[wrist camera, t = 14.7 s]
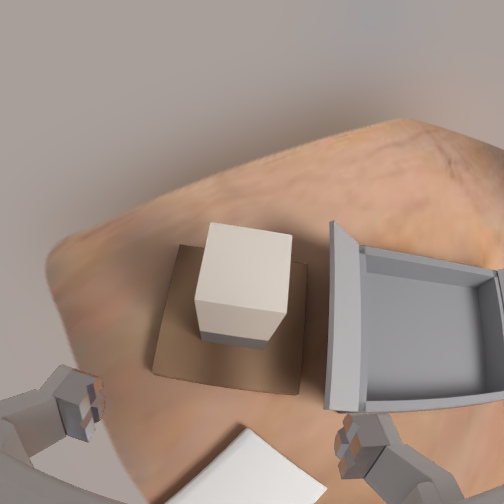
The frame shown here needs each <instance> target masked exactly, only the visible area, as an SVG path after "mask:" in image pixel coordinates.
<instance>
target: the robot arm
mask: <svg viewBox="0 0 504 504" xmlns="http://www.w3.org/2000/svg"><path fill="white" fill-rule="evenodd" d="M102 387H103V383H102V379H101V378H100V377H98V376H95V375H92V374H89V373H86V372H83V371H80V370H77V369H73V368H71V367H68V366H65V365H60V366H59V367H58V368H57V369H56V370H55V371H54V372H53V374H52V375H51V376H50V377H49V378H48V380H47V381H46V382H45V383H44V384H43V386H42V387H41V388H40V389H39V391H38V390H36V389H34V390H31V391H29V392H26V393H23V394H20V395H17V396H13V397H10V398H8V399H5V400H1V401H0V504H126V503H123V502H120V501H116V500H113V499H110V498H107V497H104V496H101V495H98V494H95V493H92V492H89V491H87V490H84V489H81V488H79V487H76V486H74V485H71V484H69V483H66V482H64V481H62V480H59V479H57V478H55V477H52V476H50V475H48V474H46V473H44V472H41V471H39V470H37V469H35V468H34V466H33V464H32V463H31V461H30V459H29V458H30V457H31V456H33V455H35V454H37V453H38V452H40V451H42V450H44V449H45V448H47V447H49V446H51V445H52V444H54V443H56V442H57V441H59V440H61V439H63V438H64V437H66V435H68V436H70V437H73V438H76V439H79V440H82V441H85V442H89V441H90V439H91V437H92V435H93V433H94V431H95V426H94V423H96V422H98V421H100V420H101V418H102V416H103V412H104V409H105V397H104V395H103V394H102V392H101V391H100V390H101V389H102ZM343 425H344V427H343V428H341V429H340V430H339V431H338V432H337V435H336V437H335V443H334V450H335V455H336V456H337V457H338V458H339V459H340V462H339V464H338V467H339V472H340V476H341V479H363V478H365V479H364V480H365V481H366V482H367V483H368V484H369V485H370V486H371V487H372V488H373V490H374V491H375V492H376V493H377V494H378V495H379V496H380V497H381V498H382V499H383V500H384V501H385V502H386V503H387V504H504V484H503V485H501V486H498V487H496V488H493V489H491V490H488V491H486V492H483V493H480V494H478V495H475V496H472V497H469V498H466V499H465V498H464V496H463V494H462V492H461V490H460V488H459V486H458V484H457V482H456V480H455V478H454V476H453V475H452V474H450V473H449V472H447V471H446V470H444V469H443V468H441V467H440V466H438V465H437V464H435V463H434V462H432V461H431V460H429V459H428V458H426V457H425V456H423V455H422V454H420V453H419V452H418V451H416V450H415V449H413V448H412V447H410V446H409V445H407V444H403V442H402V440H401V438H400V436H399V434H398V432H397V429H396V427H395V425H394V423H393V421H392V419H391V417H390V415H389V414H388V413H377V414H347V415H346V416H345V418H344V420H343Z"/></svg>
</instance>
